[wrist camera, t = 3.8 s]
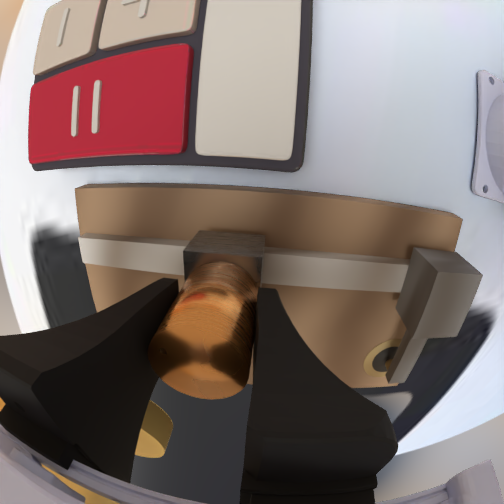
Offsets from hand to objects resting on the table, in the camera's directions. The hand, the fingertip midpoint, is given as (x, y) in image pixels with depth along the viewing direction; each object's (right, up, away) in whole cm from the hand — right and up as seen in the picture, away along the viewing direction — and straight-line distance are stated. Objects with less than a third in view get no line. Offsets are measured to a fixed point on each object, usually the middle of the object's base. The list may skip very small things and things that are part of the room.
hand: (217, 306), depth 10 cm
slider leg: (0, -1, +4) cm, 5 cm away
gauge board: (+2, -1, +6) cm, 6 cm away
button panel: (-3, +12, +2) cm, 13 cm away
